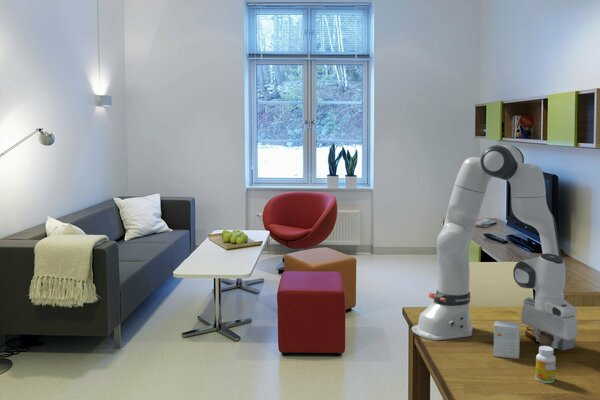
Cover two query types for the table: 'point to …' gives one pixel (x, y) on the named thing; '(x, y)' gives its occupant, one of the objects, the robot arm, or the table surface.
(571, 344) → the base block
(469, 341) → the table surface
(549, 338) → the walnut cylinder
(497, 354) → the small box
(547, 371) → the supplement bottle
